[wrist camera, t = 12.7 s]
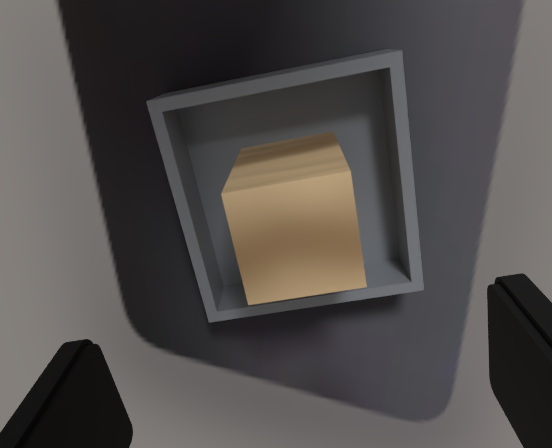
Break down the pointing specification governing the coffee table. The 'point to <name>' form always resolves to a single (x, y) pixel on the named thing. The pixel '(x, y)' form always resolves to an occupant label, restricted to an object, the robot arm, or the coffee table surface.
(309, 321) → the coffee table surface
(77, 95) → the coffee table surface
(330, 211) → the oak block
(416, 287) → the tray
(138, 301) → the coffee table surface
